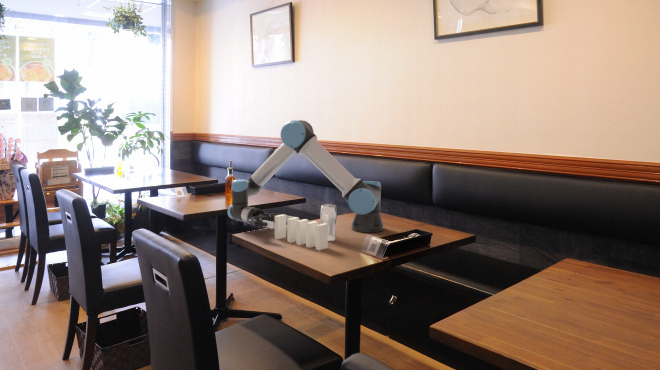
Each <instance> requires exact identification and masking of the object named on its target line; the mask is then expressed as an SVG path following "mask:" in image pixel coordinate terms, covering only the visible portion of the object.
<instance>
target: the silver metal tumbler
mask: <svg viewBox="0 0 660 370" xmlns="http://www.w3.org/2000/svg"><path fill="white" fill-rule="evenodd" d="M337 213H338V212H337V205H335V204H331V203H330V204H328V203H327V204H322V205H321V206H320V224H323V223H326V224H328V243H329V242H334V241H336V236H335V229H336V224H337V217H338V216H337Z"/></svg>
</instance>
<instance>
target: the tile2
mask: <svg viewBox="0 0 660 370" xmlns="http://www.w3.org/2000/svg"><path fill="white" fill-rule="evenodd" d="M293 217H294V218H289V219H287V222H286V238H287V239H286V240H287V243H291V244H292V243H295V242H296V221H298V220H300V218H299V217H298V216H293Z"/></svg>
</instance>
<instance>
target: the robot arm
mask: <svg viewBox="0 0 660 370" xmlns="http://www.w3.org/2000/svg"><path fill="white" fill-rule="evenodd" d="M314 131H315V130H314V128H313V126H312V125H311V123H309V122H308V121H307V120H303V119H301V120H297V119H293V120H289V121H287V122H285V124H284V125H283V126H282V128H281V129H280V139H281V141H282V143H281V145H279V146H278V147H277V148H276V150H274V151H273V152H272V153H271V155H270V156H269V157H267V159H266V160H265V161H264V162H263V163H262V164H260V166H259V167H258V169H256V170H255V171H254V172H253V174H252V175H251V176H250V177H249V178H247V179H234V180H232V181H231V187H230V188H231V204H230V205H228V209H227V215H228V218H230V219H232V220H235V221H238V222H243V223H248V225H253V227H255V228H259V229H262V228H266V229H267V228H268V229H271V230H273V229H274V230H275V216H277V215H282V214H284V215H286V223H287V219H289V218H294V217H295V216H291V215H290V213H274V212H270V213H267V212H264V210H263V209H261V208H257V207H252V206H249V197H253V196H255V195H257V194H258V193H259V192H260V191H261V188H262V187H264V186H265V184H266V183H267V182H268V181H269V180H270V179H271V178H272V177H274V175H275V174H276V173H277V172H279V170H280V169H281V168H282V167H283V166H284V165H285V164H286V163H287V162H288V161H289V160H290V159H291V158H292V157H293V156H294V155H295V154H296V153H297V154H298V155H299V156H302V155H303V156H305V158H307V160H309V161H310V163H311V164H312V165H314V166H315V167H316V168H317V170H319V172H321V174H322V175H324V176H325V177H326V178H327V179H328V180H329V181H330V182H331V183H332V184H333V185H334V186H335V187H336V188H337V189H338V190H339V191H340V192H341V193H342V194H341V196H342V199H344V200H345V201H346V202H347V203H348V207H349V209H350V210H351V211H352V212H353V213H354V215H353V219H352V223H351V229H352V230H353V231H354V232H358V233H359V232H360V233H379V232H382V231H383V230H384V229H385V228H384V227H385V225H384V222H383V218H382V215H381V203H382V202H381V194H382V191H381V190H382V184H381V182H380V181H376V180H375V181H372V180H370V181H369V180H363V179H361V178H356V177H355V176H354V175H353V174H352V173H351V172H350V171H348V169H347V168H345V167H344V166H343V165H342V164H341V163H340V161H338V159H336V158H335V157H334V156H333V155H332V154H331V153H330V152H329V151H328V150H327V149H326V148H325V147H324V146H323V145H322V144H321V143H320V142H319V141H318V136H317V135H316V134H315V133H314Z"/></svg>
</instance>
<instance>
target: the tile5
mask: <svg viewBox="0 0 660 370" xmlns="http://www.w3.org/2000/svg"><path fill="white" fill-rule="evenodd" d="M328 246H329V242H328V224H326V223H323V224H321V223H318V225H316V246H315V250H316V251H317V250H318V251H322V250H326V249H328V248H329V247H328Z"/></svg>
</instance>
